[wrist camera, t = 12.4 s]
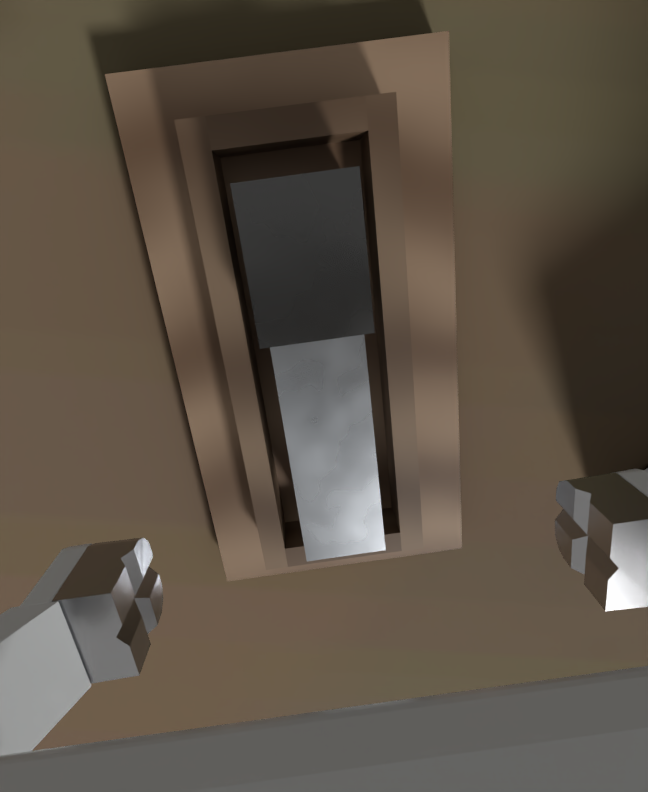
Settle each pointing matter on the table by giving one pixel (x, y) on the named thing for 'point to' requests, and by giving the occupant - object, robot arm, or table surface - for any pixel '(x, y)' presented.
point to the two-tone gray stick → (317, 346)
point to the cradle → (228, 286)
